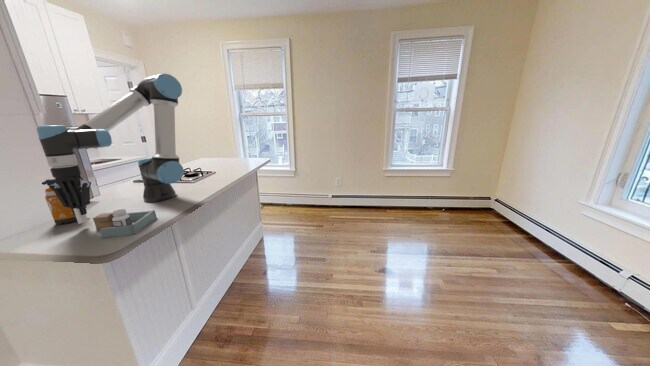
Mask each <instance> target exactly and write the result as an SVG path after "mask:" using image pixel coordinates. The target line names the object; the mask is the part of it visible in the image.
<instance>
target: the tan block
mask: <svg viewBox="0 0 650 366" xmlns="http://www.w3.org/2000/svg"><path fill="white" fill-rule="evenodd" d="M112 212H113V211H112ZM112 212H102V213H99V214H98V215H96V216H94V217H92V220H93V224H94V225H95V229H97V230H98V229H99V230H100V229H101V228H108V227H114V224H113V221H112V219H113V217H114V216H113V214H112Z"/></svg>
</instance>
